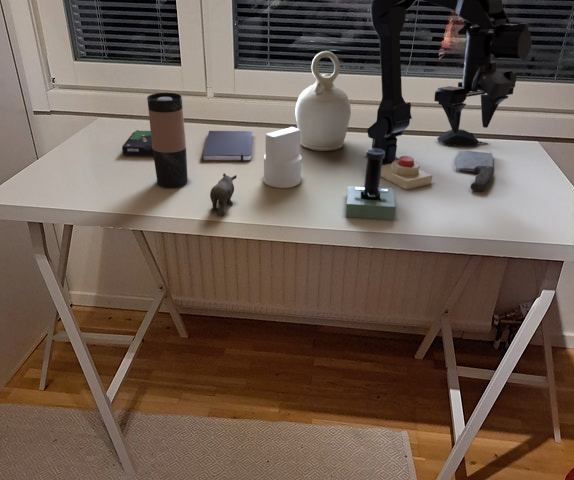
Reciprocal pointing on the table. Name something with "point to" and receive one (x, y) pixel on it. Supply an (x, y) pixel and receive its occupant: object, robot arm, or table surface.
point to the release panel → (405, 175)
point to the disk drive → (138, 144)
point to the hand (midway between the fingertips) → (470, 130)
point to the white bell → (323, 110)
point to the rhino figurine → (222, 193)
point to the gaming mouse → (459, 138)
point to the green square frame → (370, 204)
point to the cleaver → (476, 167)
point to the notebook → (228, 146)
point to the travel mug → (168, 139)
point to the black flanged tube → (373, 174)
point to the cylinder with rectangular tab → (283, 158)
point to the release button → (406, 161)
